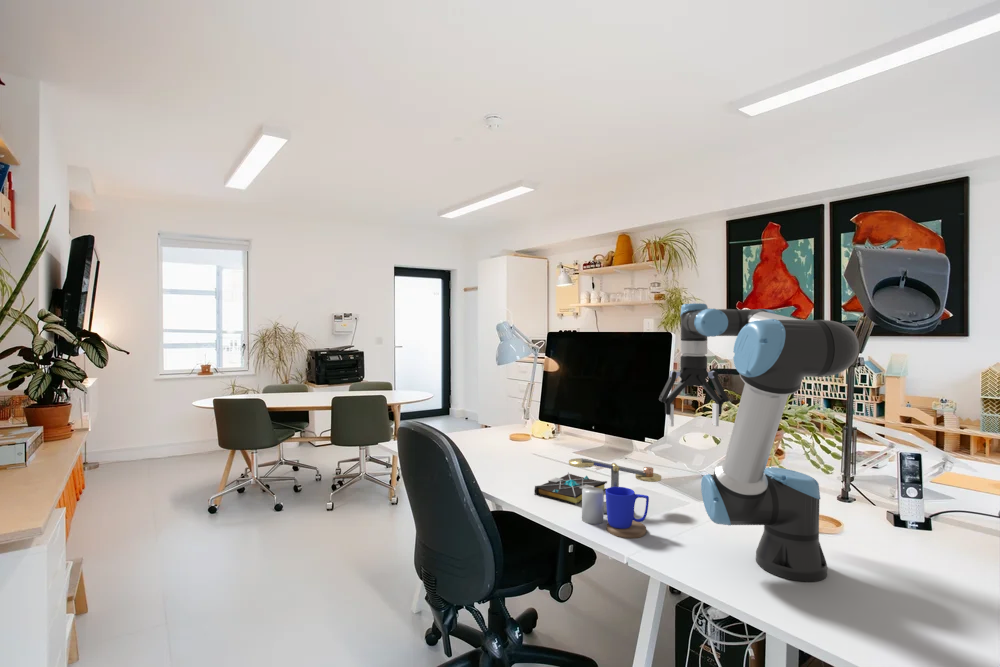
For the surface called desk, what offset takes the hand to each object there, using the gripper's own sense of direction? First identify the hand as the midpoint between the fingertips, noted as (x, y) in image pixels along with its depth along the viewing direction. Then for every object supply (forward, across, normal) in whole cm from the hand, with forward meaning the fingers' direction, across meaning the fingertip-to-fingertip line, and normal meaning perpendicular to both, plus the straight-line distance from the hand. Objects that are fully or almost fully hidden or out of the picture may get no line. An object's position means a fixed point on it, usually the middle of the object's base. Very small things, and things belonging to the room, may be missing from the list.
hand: (693, 425), depth 154 cm
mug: (+28, +22, +7) cm, 36 cm away
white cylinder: (+29, +30, -1) cm, 42 cm away
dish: (+29, +22, +7) cm, 37 cm away
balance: (+29, +21, -10) cm, 37 cm away
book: (+29, +32, -27) cm, 51 cm away
